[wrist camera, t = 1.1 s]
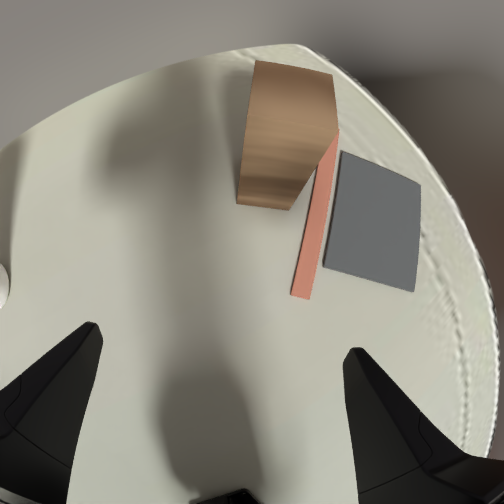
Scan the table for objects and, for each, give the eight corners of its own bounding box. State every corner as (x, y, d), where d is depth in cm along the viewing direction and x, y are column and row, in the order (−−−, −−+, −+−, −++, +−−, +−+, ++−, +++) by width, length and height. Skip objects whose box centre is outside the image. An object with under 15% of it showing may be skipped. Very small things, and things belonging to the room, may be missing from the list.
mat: (411, 292, 24) (414, 291, 23) (322, 267, 23) (324, 266, 23) (418, 186, 26) (420, 185, 26) (341, 153, 26) (342, 151, 26)
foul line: (308, 299, 23) (309, 299, 22) (290, 294, 23) (291, 294, 22) (338, 130, 27) (339, 128, 26) (324, 125, 27) (325, 123, 26)
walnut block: (288, 210, 24) (338, 131, 12) (236, 203, 24) (247, 114, 12) (290, 165, 25) (332, 74, 13) (242, 158, 25) (255, 60, 13)
